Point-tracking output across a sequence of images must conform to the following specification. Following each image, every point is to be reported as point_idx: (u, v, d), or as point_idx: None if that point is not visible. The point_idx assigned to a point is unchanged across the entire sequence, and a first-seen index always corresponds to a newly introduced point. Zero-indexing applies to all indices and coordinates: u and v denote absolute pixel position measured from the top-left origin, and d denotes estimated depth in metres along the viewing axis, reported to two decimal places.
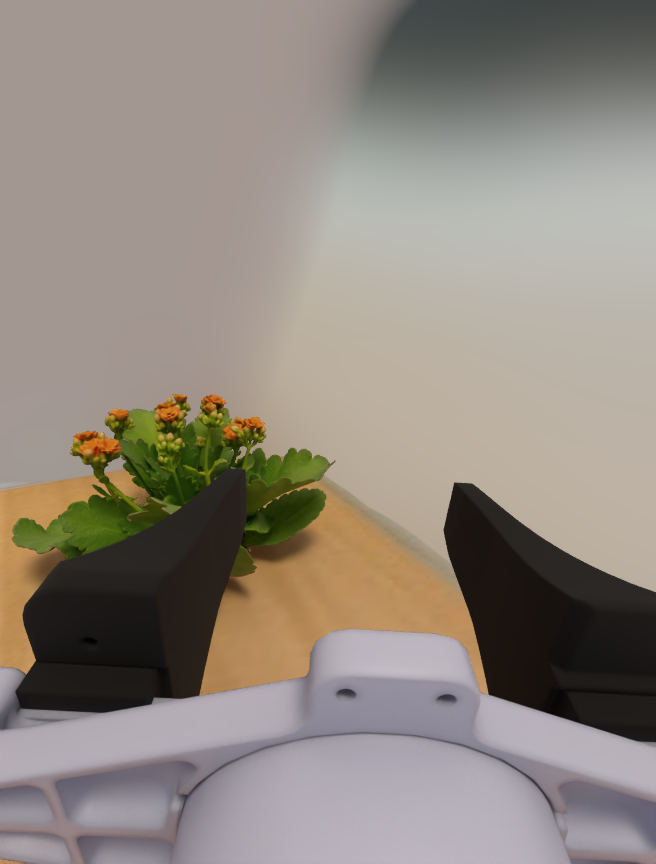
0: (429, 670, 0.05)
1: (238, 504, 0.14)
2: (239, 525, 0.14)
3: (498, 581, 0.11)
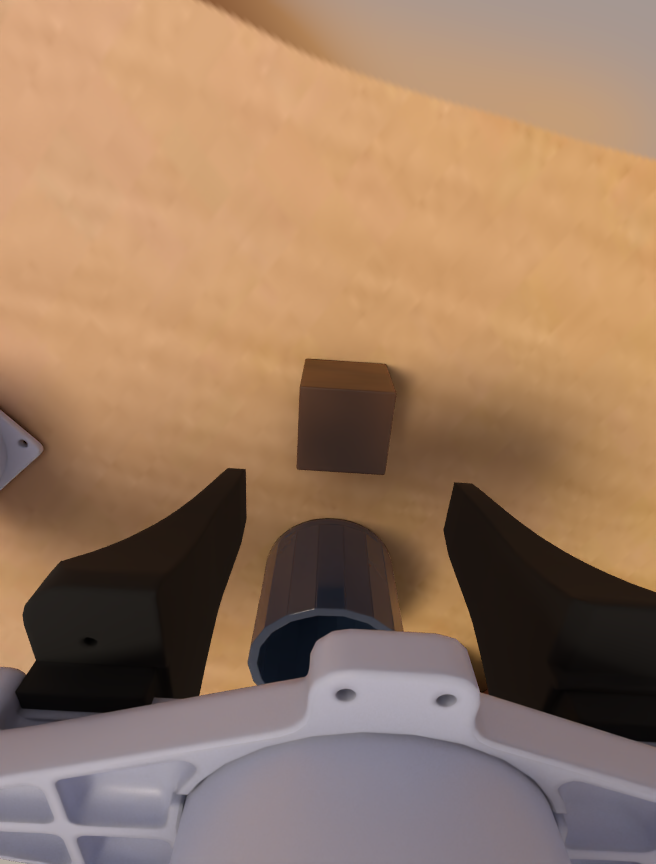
0: (429, 670, 0.05)
1: (238, 504, 0.14)
2: (239, 525, 0.14)
3: (498, 581, 0.11)
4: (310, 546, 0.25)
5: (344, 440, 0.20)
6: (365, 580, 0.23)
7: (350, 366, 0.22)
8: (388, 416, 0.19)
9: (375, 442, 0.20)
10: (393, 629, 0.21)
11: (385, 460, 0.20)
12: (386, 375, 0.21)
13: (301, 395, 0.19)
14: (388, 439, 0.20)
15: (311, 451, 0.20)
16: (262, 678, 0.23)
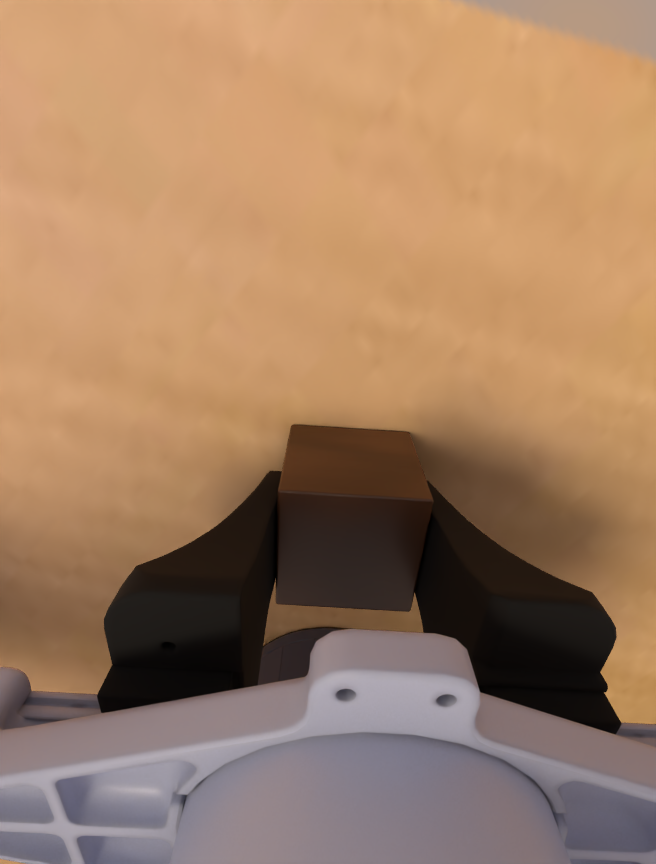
0: (429, 670, 0.05)
1: None
2: None
3: (440, 578, 0.11)
4: None
5: (349, 566, 0.13)
6: None
7: (358, 440, 0.15)
8: (419, 534, 0.12)
9: (398, 570, 0.13)
10: None
11: (412, 593, 0.13)
12: (413, 458, 0.14)
13: (280, 503, 0.12)
14: (418, 565, 0.13)
15: (298, 581, 0.13)
16: None
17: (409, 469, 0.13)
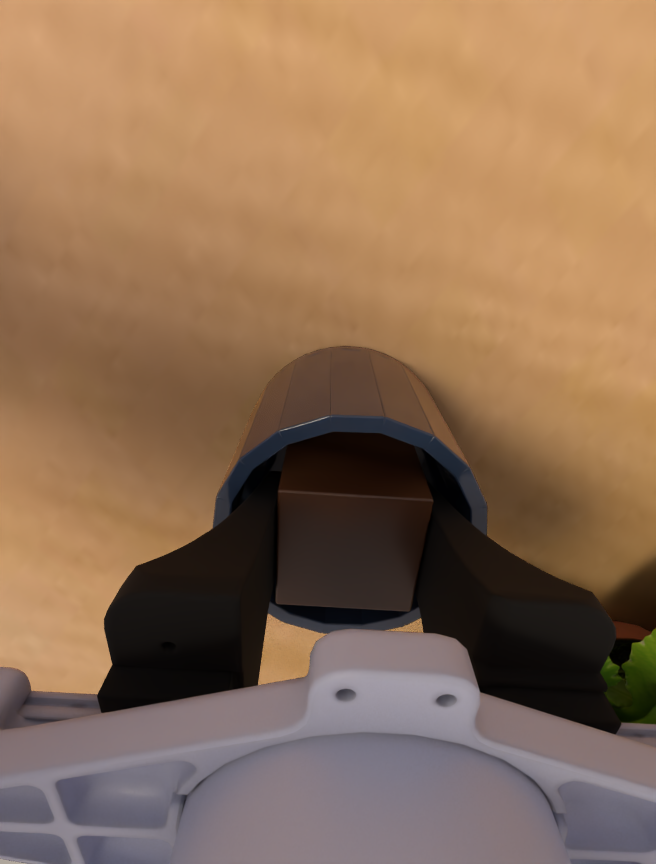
0: (429, 670, 0.05)
1: None
2: None
3: (440, 578, 0.11)
4: (317, 367, 0.15)
5: (349, 566, 0.13)
6: (412, 400, 0.14)
7: (358, 440, 0.15)
8: (419, 533, 0.12)
9: (397, 569, 0.13)
10: (467, 464, 0.12)
11: (412, 593, 0.13)
12: (413, 457, 0.14)
13: (280, 503, 0.12)
14: (418, 564, 0.13)
15: (298, 580, 0.13)
16: None
17: (409, 469, 0.13)
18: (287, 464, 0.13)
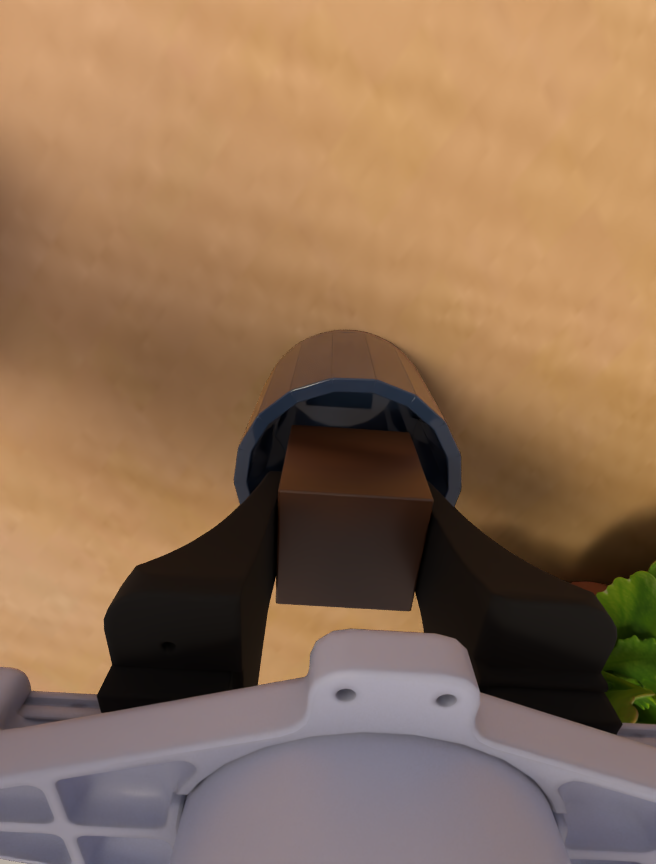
0: (429, 670, 0.05)
1: None
2: None
3: (441, 578, 0.11)
4: (321, 345, 0.18)
5: (349, 565, 0.13)
6: (399, 370, 0.16)
7: (358, 440, 0.15)
8: (419, 533, 0.12)
9: (398, 569, 0.13)
10: (443, 419, 0.15)
11: (412, 592, 0.13)
12: (413, 457, 0.14)
13: (280, 503, 0.12)
14: (418, 564, 0.13)
15: (298, 580, 0.13)
16: None
17: (409, 469, 0.13)
18: (287, 464, 0.13)
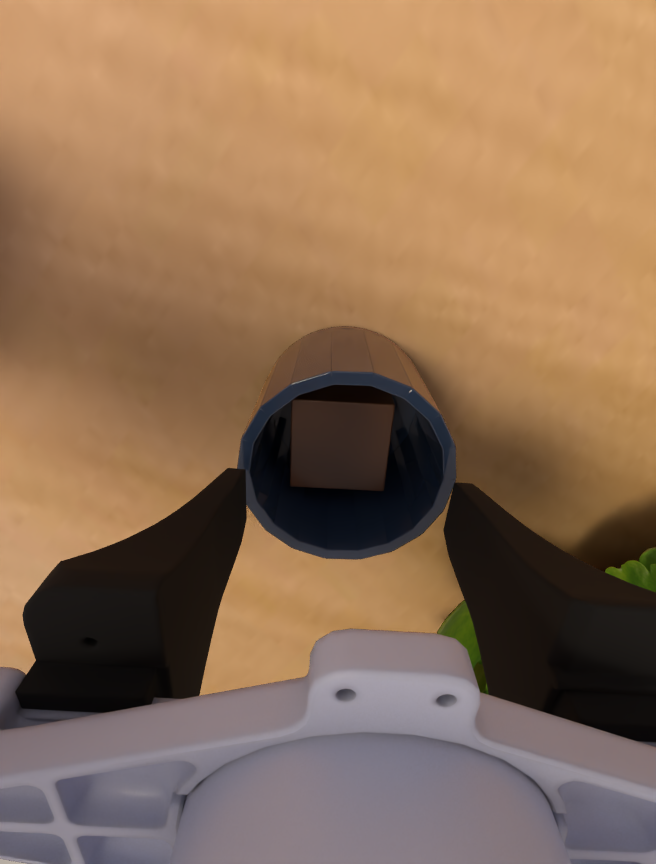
0: (429, 670, 0.05)
1: (238, 504, 0.14)
2: (239, 525, 0.14)
3: (498, 581, 0.11)
4: (321, 341, 0.19)
5: (340, 455, 0.19)
6: (397, 364, 0.17)
7: None
8: (386, 429, 0.18)
9: (373, 458, 0.19)
10: (439, 411, 0.15)
11: (384, 476, 0.19)
12: None
13: (293, 408, 0.18)
14: (387, 454, 0.19)
15: (305, 467, 0.19)
16: (257, 499, 0.17)
17: (381, 390, 0.19)
18: None
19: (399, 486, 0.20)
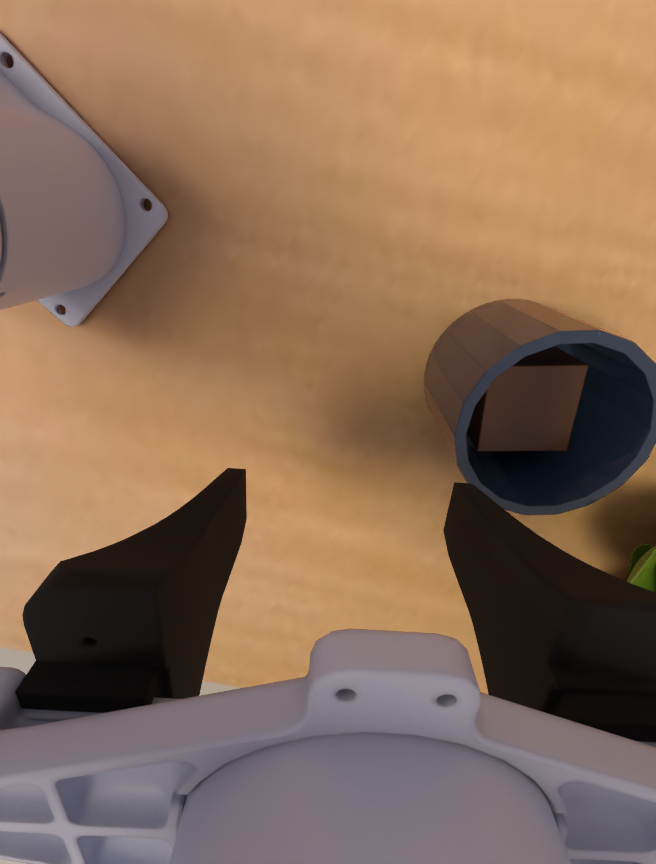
0: (429, 670, 0.05)
1: (238, 504, 0.14)
2: (239, 525, 0.14)
3: (498, 581, 0.11)
4: (502, 312, 0.20)
5: (530, 418, 0.20)
6: (594, 326, 0.18)
7: None
8: (578, 390, 0.19)
9: (561, 418, 0.20)
10: (655, 363, 0.16)
11: (569, 435, 0.20)
12: (560, 350, 0.21)
13: None
14: (575, 413, 0.20)
15: (494, 432, 0.20)
16: (468, 460, 0.18)
17: (562, 354, 0.20)
18: None
19: (573, 447, 0.21)
